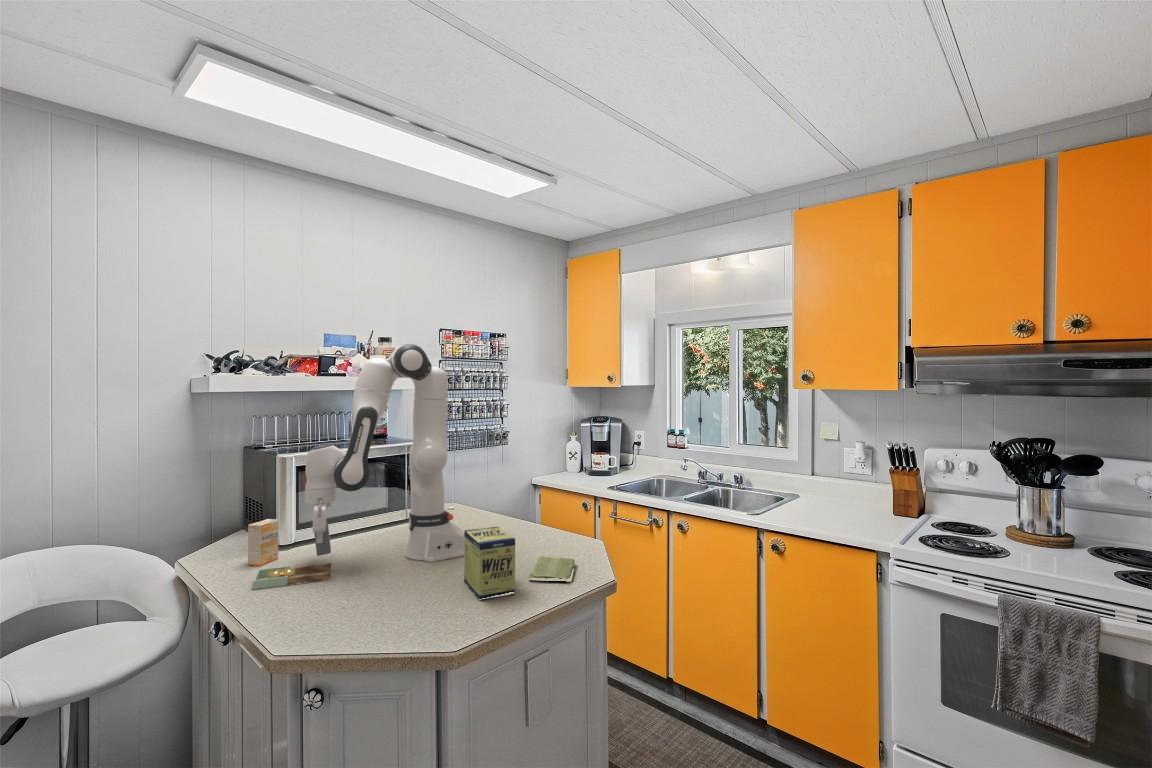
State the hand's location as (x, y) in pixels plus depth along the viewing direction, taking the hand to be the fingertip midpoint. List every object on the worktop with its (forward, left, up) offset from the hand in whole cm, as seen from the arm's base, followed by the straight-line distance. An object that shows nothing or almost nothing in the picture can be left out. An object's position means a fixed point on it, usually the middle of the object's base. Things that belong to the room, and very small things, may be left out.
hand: (319, 539), depth 175 cm
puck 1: (+12, +9, -9) cm, 17 cm away
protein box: (-44, +39, -9) cm, 60 cm away
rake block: (-1, 0, -4) cm, 4 cm away
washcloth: (-66, +34, -9) cm, 75 cm away
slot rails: (+2, +9, -9) cm, 13 cm away
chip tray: (+12, +9, -9) cm, 17 cm away
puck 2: (+8, +9, -9) cm, 15 cm away
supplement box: (+17, -12, -9) cm, 22 cm away
